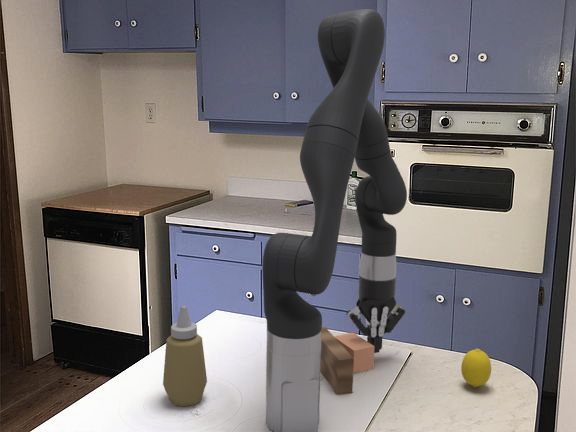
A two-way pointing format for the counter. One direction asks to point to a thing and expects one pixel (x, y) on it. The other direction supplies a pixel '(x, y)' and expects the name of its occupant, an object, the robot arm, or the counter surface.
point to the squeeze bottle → (184, 362)
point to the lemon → (476, 368)
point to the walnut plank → (336, 363)
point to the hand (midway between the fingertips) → (374, 351)
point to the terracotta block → (358, 351)
